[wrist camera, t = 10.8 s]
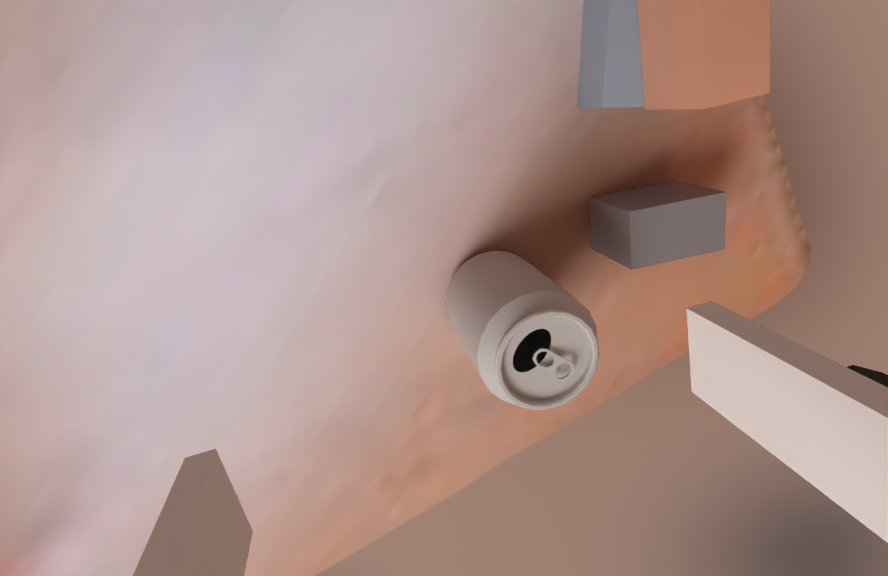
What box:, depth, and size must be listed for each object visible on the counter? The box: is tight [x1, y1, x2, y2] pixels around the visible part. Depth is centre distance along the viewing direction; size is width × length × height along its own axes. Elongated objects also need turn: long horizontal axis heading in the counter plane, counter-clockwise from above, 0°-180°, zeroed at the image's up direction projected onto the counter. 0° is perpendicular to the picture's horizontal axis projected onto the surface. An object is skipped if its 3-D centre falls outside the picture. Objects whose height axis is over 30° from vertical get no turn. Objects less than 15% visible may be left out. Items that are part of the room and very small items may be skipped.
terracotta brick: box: [637, 0, 771, 110], centre depth 31 cm, size 7×4×6 cm, turn 12°
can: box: [445, 251, 599, 410], centre depth 35 cm, size 8×8×12 cm
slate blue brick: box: [578, 0, 645, 109], centre depth 35 cm, size 8×8×4 cm
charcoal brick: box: [589, 181, 726, 269], centre depth 38 cm, size 7×4×6 cm, turn 99°
